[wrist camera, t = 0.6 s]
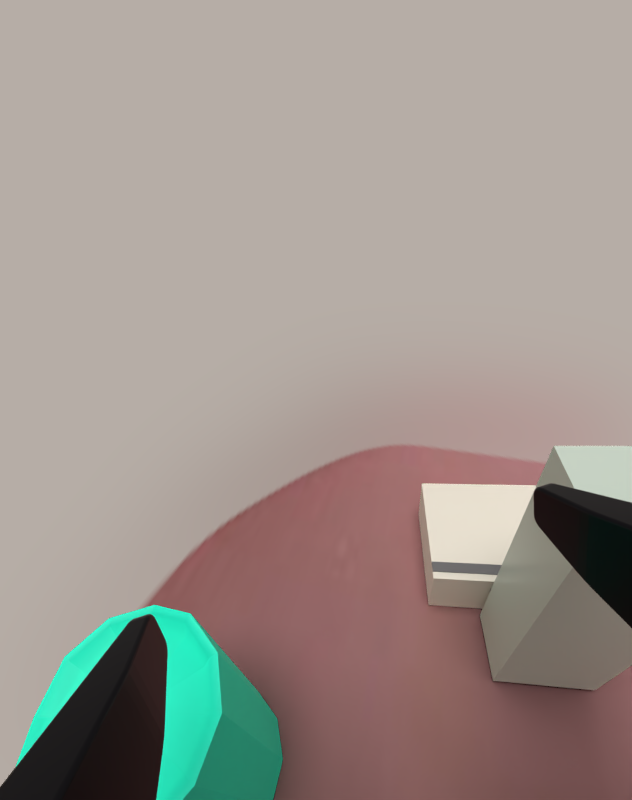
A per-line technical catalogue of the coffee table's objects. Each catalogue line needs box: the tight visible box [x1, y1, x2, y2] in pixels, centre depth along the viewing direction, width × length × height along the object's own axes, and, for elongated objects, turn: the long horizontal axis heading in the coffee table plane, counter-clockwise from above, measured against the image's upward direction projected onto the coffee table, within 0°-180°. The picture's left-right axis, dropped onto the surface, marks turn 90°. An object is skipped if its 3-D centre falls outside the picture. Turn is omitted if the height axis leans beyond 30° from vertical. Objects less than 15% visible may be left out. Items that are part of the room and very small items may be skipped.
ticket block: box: [419, 484, 536, 609], centre depth 22 cm, size 6×10×4 cm, turn 84°
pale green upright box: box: [480, 446, 632, 690], centre depth 15 cm, size 3×5×14 cm, turn 84°
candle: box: [16, 605, 283, 800], centre depth 14 cm, size 6×6×12 cm
